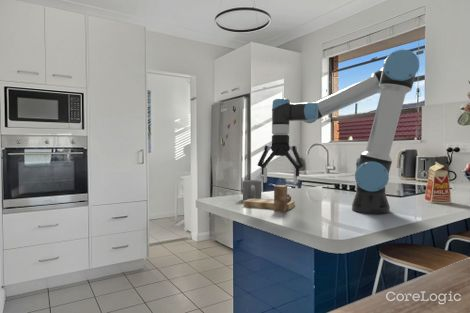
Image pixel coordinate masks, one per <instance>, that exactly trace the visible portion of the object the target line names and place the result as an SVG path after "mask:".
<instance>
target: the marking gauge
mask: <svg viewBox="0 0 470 313" xmlns="http://www.w3.org/2000/svg"><path fill="white" fill-rule="evenodd" d="M273 200H274V209H273V212H277V213H285V212H287V211H288V210H287V202H289V201H292V196H291V195H290V194H289V193H288V185H286V184H285V185H284V184H277V185H274V186H273Z"/></svg>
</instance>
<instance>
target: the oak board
mask: <svg viewBox="0 0 470 313" xmlns="http://www.w3.org/2000/svg"><path fill="white" fill-rule="evenodd" d="M242 201H243V207H247V208H256V209H257V208H258V209H271V210H274V199H269V198H261V199H257V198H250V199H248V200H245V201H244V200H242ZM295 206H296V204H295V200H290V201H289V202H287V211H290V210H292V208H294V207H295Z"/></svg>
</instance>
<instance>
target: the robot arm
mask: <svg viewBox="0 0 470 313" xmlns="http://www.w3.org/2000/svg"><path fill="white" fill-rule="evenodd" d="M419 69H420V60H419V58H418V56H417V54H415V53H414V52H413V51H411V50H409V49H398V50H395V51H393V52H391V53H390V54H388V55H387V57H386V58H385V59H384V62H383V64H382V68H380V69H379V70H376V71H375V72H372V74H371V76H369V77H367V78H366V79H362V80H361V81H359V82H357V83H354V84H352V85H349V86H348V87H346V88H344V89H341V90H339V91H337V92H335V93H332V94H331V95H328V96H326V97H324V98H322V99H320V100H318V101H316V102H311V101H308V102H297V103H296V102H294V103H293V102H291V101H290V99H289V98H285V97H284V98H275V99H273V101H272V107H271V108H272V109H271V114H272V115H271V117H272V118H271V133H272V135H271V145H265V146H264V147H263V148H264V149H263V150H264V151H263V152H262V154H261V156H260V158H259V161H258V163H257V166H258V167H260V168H261V175H262V176H263V178H262V179H263V183H268V167H267V166H268V164H269V163H270V162H271V161H272V160H273V158H274V157H279V156H280V157H286V158H287V159H288V160H289V162H290V163H291V164H292V165H293V167H294V169H293V185H297V184H298V177H299V176H300V169H302V168H304V167H305V164H304V163H303V160H302V159H301V157H300V154H299V153H298V151H297V150H298V149H297V146H296V145H292V146H290V135H289V134H290V122H294V121H295V122H298V121H300V122H301V121H303V122H304V123H307V124H312V123H315V122H316V121H317V120H320V119H321V118H323V117H326V116H328V115H331V114H333V113H335V112H338V111H340V110H343V109H344V108H347V107H349V106H351V105H353V104H356V103H358V102H361V101H363V100H365V99H367V98H370V97H372V96H374V95H376V94H380V95H379V99H378V102H377V107H376V111H375V114H374V118H373V122H372V126H371V130H370V134H369V136H368V137H369V138H368V142H367V145H366V149H365V150H364V151H363V152H361V153H360V156H359V157H358V158H356V163H355V165H356V170H355V171H354V172H355V173H354V179H355V182H356V184H355V185H356V186H355V187H356V189H355V191H356V192H355V195H354V199H353V201H352V204H351V210H352V211H354V212H356V213H357V212H358V213H360V214H361V213H362V214H372V215H373V214H374V215H382V214H389V213H390V212H391V209H390V208H391V207H390V204H389V201H388V198H387V195H386V186H387V185H388V182H389V179H390V178H389V176H390V175H389V174H390V171H391V166H392V163H393V160H392V158H391V156H390V153H391V150H392V146H393V142H394V138H395V135H396V132H397V127H398V124H399V120H400V116H401V112H402V109H403V105H404V101H405V98H406V95H407V94H408V93H409V92H411V91H412V90H413V89H412V88H413V85H414V82H415V78H416V75H417V73H418V71H419ZM270 150H271V151H272V152H271V153H270V155H269V156H268V157H267V155H268V153H269V151H270ZM290 150H291V152H292V153H293V155H294V157H295V159H296V160H295V159H294V158H293V156H291V153H289V151H290ZM266 157H267V158H266ZM265 159H266V160H265Z"/></svg>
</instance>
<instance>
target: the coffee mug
mask: <svg viewBox="0 0 470 313" xmlns="http://www.w3.org/2000/svg"><path fill="white" fill-rule="evenodd" d="M250 198H257V199H262V181H261V180H259V179H258V180H257V179H245V180H242V201H245V200H248V199H250Z"/></svg>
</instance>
